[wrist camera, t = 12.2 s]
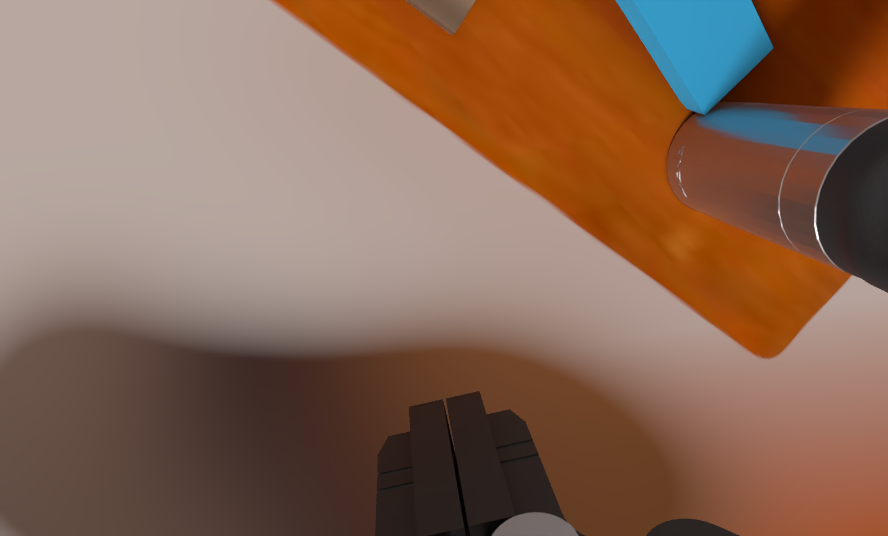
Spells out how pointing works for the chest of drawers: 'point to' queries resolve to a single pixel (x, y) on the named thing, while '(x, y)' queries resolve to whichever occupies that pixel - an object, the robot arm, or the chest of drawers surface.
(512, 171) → the chest of drawers surface
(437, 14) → the catapult stand
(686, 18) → the lever
